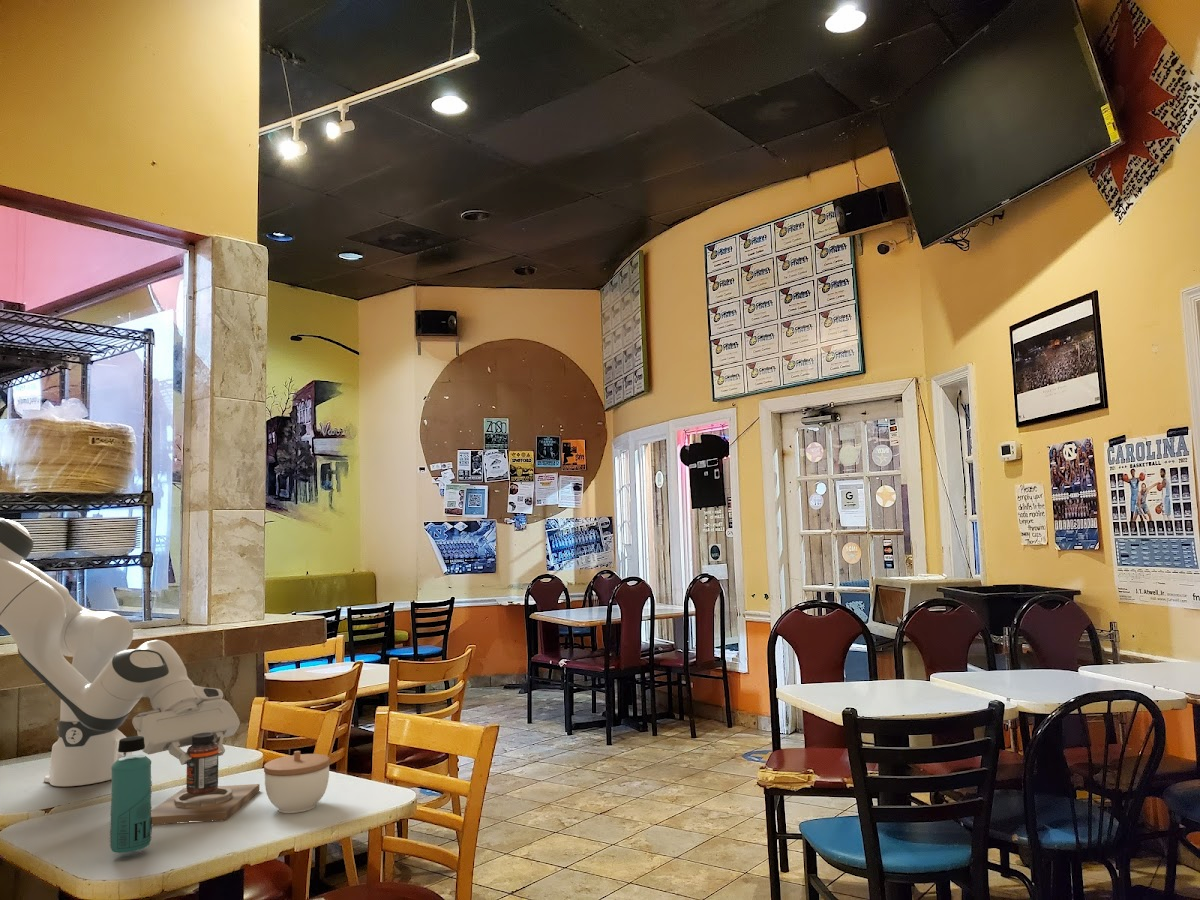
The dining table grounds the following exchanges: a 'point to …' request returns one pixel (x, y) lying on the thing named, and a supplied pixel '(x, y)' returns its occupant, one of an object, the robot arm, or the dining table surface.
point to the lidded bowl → (296, 781)
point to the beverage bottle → (131, 798)
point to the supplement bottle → (202, 764)
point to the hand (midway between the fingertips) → (204, 758)
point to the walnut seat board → (203, 804)
